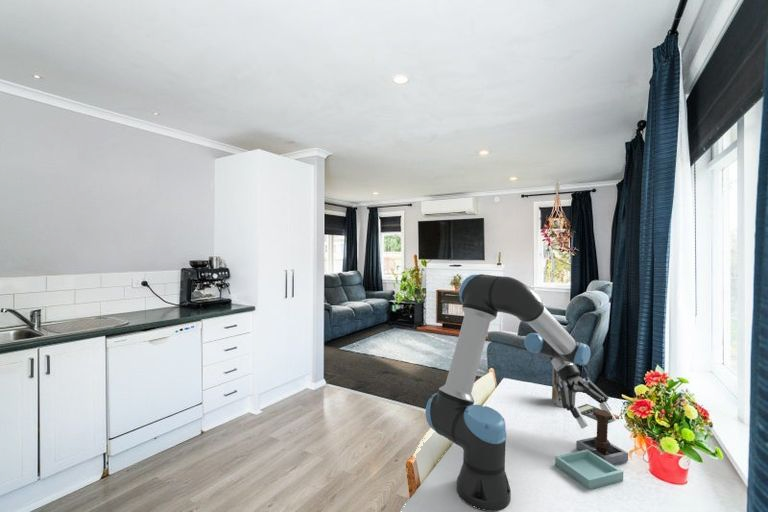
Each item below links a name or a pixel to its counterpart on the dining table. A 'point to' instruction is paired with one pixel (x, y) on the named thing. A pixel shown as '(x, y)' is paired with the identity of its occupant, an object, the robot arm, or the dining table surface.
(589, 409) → the calculator
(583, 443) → the square frame
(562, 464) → the tray
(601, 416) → the bolt
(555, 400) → the coffee box
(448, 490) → the dining table surface
